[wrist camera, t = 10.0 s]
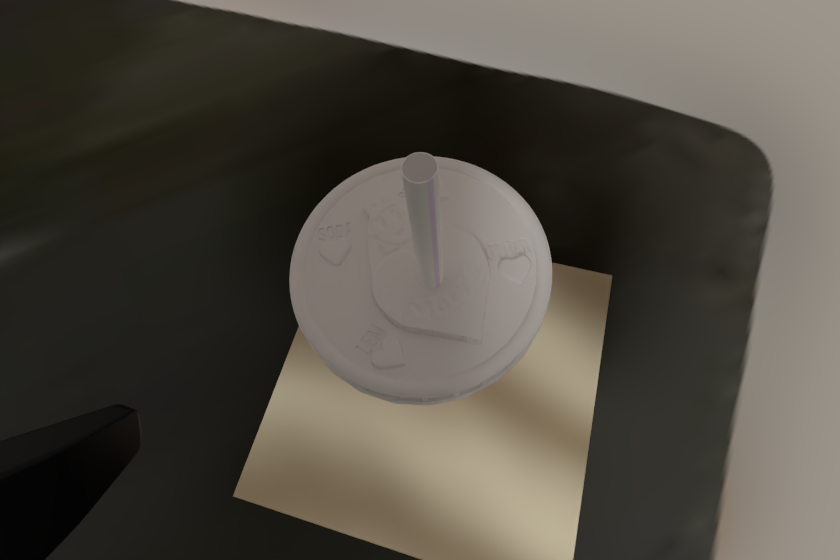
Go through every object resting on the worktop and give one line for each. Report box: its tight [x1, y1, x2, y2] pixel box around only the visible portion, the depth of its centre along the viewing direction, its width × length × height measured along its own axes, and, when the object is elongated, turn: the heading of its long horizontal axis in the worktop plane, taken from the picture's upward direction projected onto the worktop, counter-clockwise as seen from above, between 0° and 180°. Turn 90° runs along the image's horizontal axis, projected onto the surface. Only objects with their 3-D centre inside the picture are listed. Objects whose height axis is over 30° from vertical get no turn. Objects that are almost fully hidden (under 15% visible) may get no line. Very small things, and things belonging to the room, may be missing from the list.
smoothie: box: [289, 152, 552, 405], centre depth 13 cm, size 6×6×14 cm
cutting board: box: [233, 263, 612, 560], centre depth 20 cm, size 13×13×1 cm
